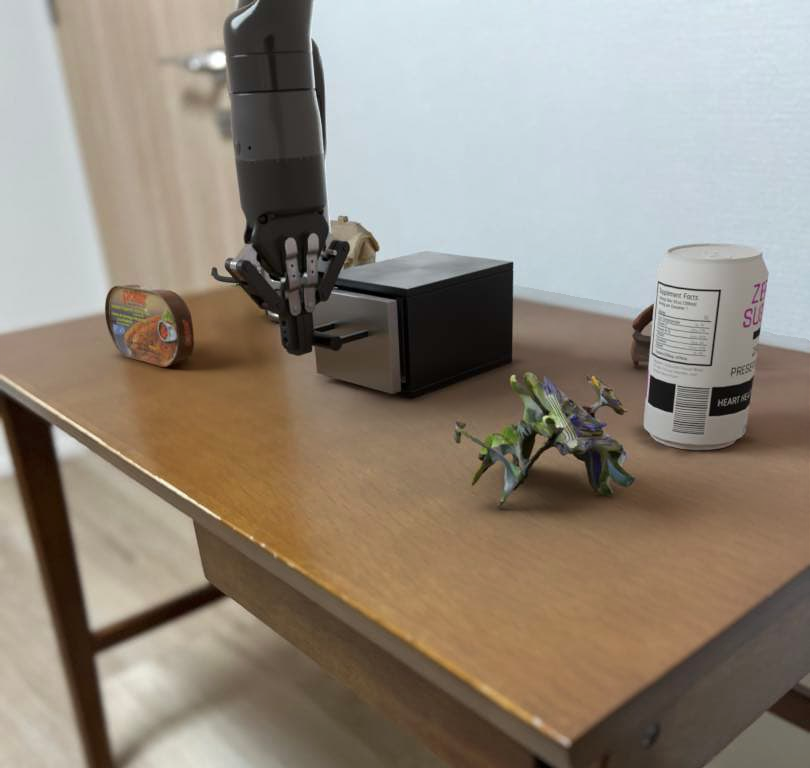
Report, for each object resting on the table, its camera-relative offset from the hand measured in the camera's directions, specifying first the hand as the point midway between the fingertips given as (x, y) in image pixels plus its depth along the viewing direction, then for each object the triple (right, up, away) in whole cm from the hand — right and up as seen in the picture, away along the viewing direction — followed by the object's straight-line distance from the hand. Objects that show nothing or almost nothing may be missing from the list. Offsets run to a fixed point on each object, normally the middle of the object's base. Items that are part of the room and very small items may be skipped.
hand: (299, 352), depth 82 cm
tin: (-19, +3, +21) cm, 29 cm away
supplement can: (+34, -9, -8) cm, 36 cm away
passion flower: (+20, -15, -18) cm, 31 cm away
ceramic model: (+1, +22, +55) cm, 59 cm away
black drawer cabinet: (+12, +1, +12) cm, 17 cm away
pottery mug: (+39, +1, +10) cm, 40 cm away
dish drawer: (+8, 0, +9) cm, 12 cm away
